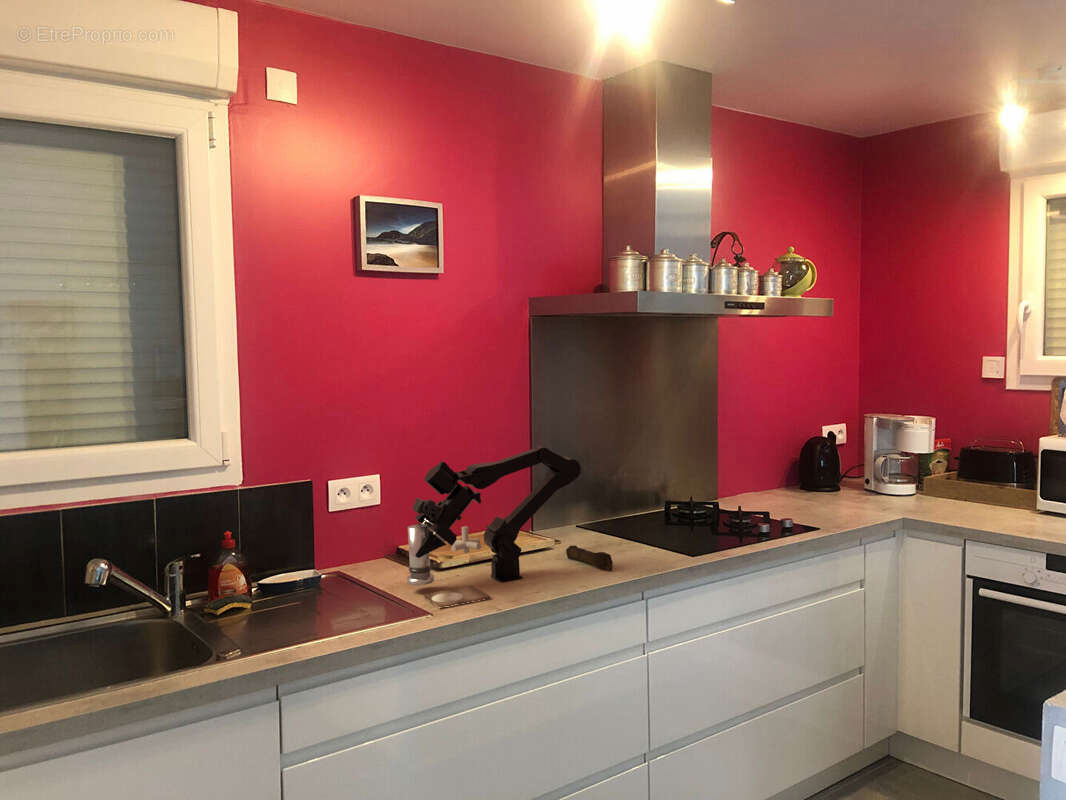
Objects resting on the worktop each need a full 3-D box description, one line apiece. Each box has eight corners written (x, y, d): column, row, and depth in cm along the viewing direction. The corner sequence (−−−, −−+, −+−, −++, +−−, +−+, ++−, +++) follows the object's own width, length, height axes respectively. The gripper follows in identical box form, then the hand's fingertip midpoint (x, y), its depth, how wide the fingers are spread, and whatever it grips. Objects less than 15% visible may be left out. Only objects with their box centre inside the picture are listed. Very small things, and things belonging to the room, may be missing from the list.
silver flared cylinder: (428, 576, 221) (425, 522, 220) (438, 582, 215) (435, 526, 214) (403, 580, 218) (400, 526, 217) (412, 586, 212) (409, 530, 211)
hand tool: (565, 560, 242) (564, 543, 242) (577, 557, 244) (577, 541, 243) (603, 574, 225) (602, 557, 225) (615, 572, 227) (615, 554, 227)
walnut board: (471, 588, 217) (471, 585, 217) (490, 599, 207) (490, 595, 207) (423, 597, 211) (423, 594, 211) (439, 609, 201) (439, 605, 201)
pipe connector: (466, 555, 251) (464, 521, 250) (491, 560, 244) (489, 525, 244) (441, 563, 243) (439, 528, 242) (467, 568, 237) (465, 532, 236)
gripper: (420, 481, 225) (381, 528, 221) (441, 491, 207) (399, 542, 204) (451, 507, 228) (413, 554, 225) (473, 519, 211) (433, 570, 208)
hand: (413, 554), depth 215 cm, fingers closed on silver flared cylinder, 5 cm apart
